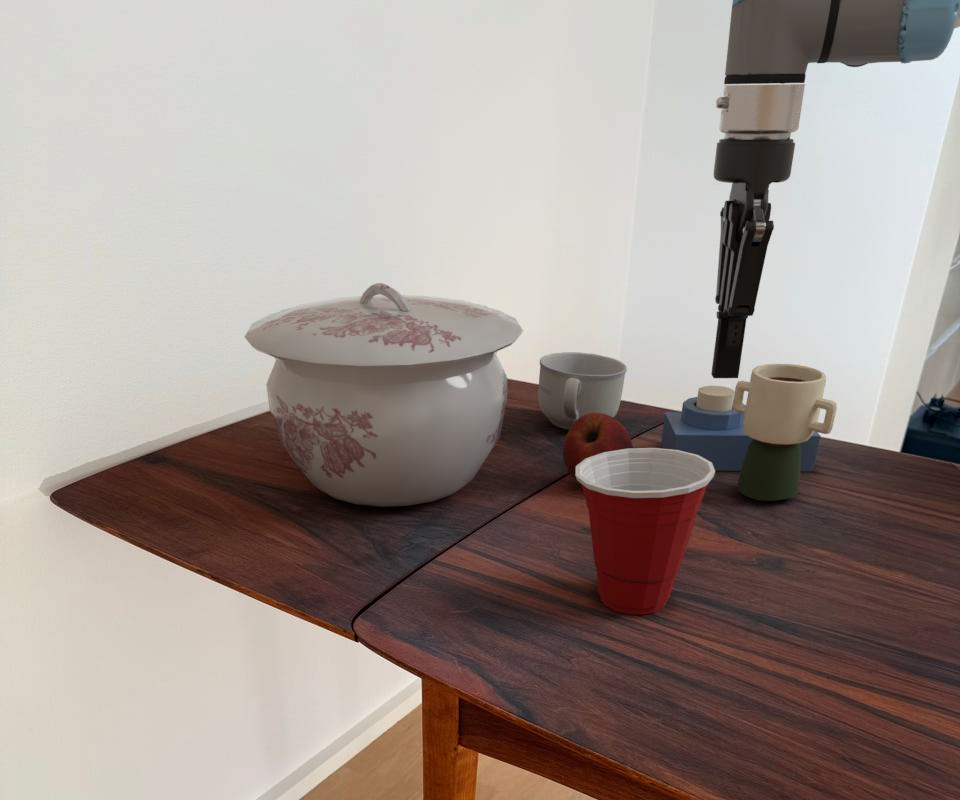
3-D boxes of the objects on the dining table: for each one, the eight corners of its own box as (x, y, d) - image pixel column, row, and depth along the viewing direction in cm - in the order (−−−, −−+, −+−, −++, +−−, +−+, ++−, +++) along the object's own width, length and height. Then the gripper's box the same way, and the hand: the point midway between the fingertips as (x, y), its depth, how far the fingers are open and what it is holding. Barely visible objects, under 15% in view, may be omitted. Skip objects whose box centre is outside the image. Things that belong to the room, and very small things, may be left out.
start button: (727, 403, 102) (730, 385, 101) (735, 414, 99) (738, 395, 98) (693, 402, 102) (695, 385, 101) (699, 413, 99) (702, 395, 98)
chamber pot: (506, 545, 83) (510, 318, 72) (228, 529, 86) (191, 309, 75) (528, 444, 107) (534, 261, 96) (309, 434, 110) (290, 256, 99)
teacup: (555, 406, 119) (558, 346, 115) (632, 417, 115) (638, 355, 111) (513, 437, 109) (515, 372, 105) (596, 451, 105) (601, 384, 101)
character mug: (829, 500, 92) (858, 376, 85) (797, 520, 88) (825, 391, 81) (737, 473, 99) (757, 355, 92) (703, 490, 95) (721, 369, 88)
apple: (546, 485, 96) (548, 413, 92) (589, 466, 101) (594, 397, 96) (600, 504, 91) (606, 430, 87) (643, 483, 96) (651, 412, 92)
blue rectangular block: (793, 445, 106) (802, 396, 103) (813, 471, 99) (824, 419, 96) (660, 444, 107) (666, 395, 104) (671, 470, 100) (677, 418, 96)
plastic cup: (610, 557, 81) (621, 431, 75) (717, 593, 76) (739, 459, 69) (541, 602, 74) (547, 467, 68) (654, 645, 68) (672, 502, 62)
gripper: (705, 133, 92) (681, 361, 105) (732, 140, 81) (702, 393, 94) (777, 132, 92) (744, 361, 105) (814, 138, 81) (772, 393, 94)
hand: (724, 376), depth 99 cm, fingers closed
